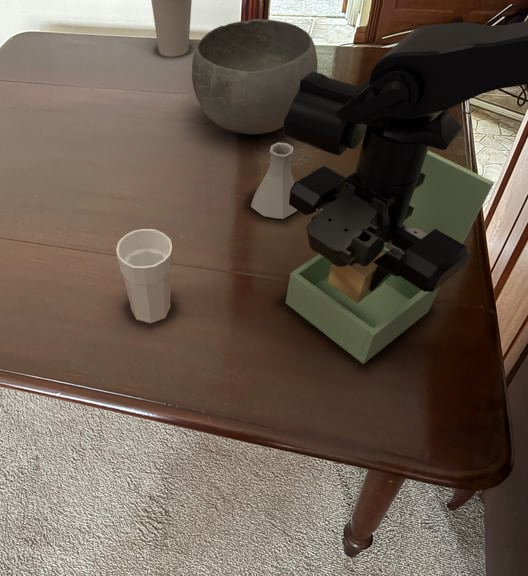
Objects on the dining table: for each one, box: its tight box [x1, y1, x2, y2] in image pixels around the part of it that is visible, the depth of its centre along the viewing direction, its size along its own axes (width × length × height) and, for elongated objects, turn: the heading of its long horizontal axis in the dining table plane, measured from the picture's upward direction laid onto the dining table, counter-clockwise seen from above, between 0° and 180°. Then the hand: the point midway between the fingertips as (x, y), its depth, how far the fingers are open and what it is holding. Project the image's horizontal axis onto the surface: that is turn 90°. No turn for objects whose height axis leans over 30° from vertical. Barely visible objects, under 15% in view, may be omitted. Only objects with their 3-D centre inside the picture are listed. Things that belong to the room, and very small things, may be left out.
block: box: [328, 253, 384, 303], centre depth 65 cm, size 4×4×4 cm
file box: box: [285, 245, 441, 365], centre depth 70 cm, size 12×12×6 cm
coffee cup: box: [151, 0, 193, 58], centre depth 117 cm, size 10×10×15 cm
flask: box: [250, 141, 298, 220], centre depth 83 cm, size 7×7×10 cm
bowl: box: [191, 18, 318, 135], centre depth 96 cm, size 20×20×15 cm
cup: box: [116, 228, 173, 324], centre depth 71 cm, size 7×7×11 cm
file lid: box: [388, 149, 495, 247], centre depth 65 cm, size 13×12×1 cm
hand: (356, 277), depth 66 cm, fingers closed on block, 4 cm apart
